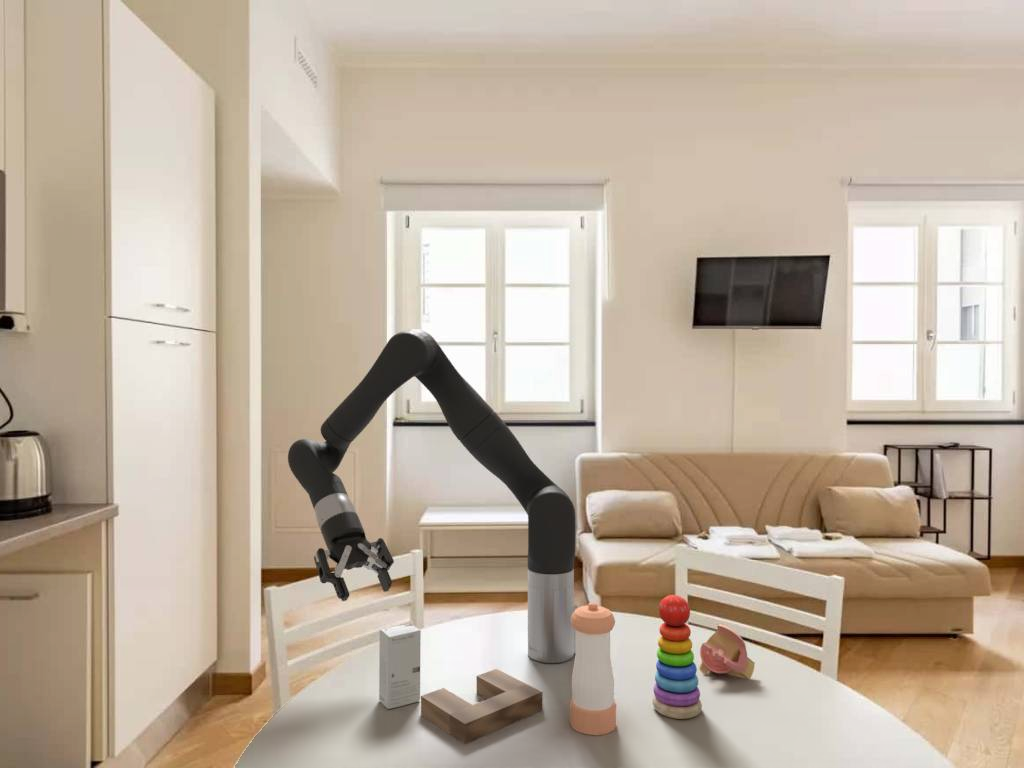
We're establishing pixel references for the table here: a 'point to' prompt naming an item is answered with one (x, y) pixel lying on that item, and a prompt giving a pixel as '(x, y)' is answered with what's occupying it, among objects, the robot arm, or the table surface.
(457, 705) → the notched board
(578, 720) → the pepper shaker
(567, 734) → the table surface
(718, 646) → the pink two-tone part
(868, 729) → the table surface
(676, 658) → the stacking toy
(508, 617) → the table surface
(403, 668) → the skincare box
